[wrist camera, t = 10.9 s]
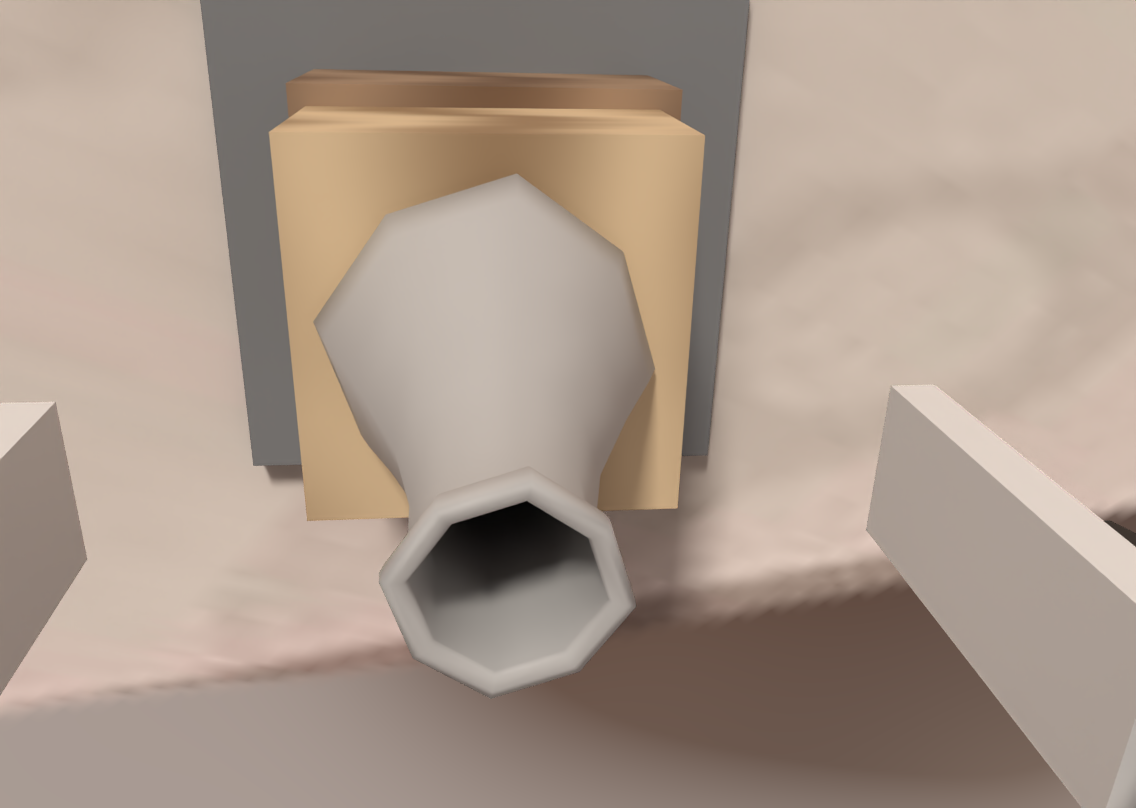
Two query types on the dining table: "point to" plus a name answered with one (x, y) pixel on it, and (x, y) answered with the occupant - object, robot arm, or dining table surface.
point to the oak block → (458, 162)
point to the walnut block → (480, 90)
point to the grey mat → (454, 44)
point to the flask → (494, 425)
